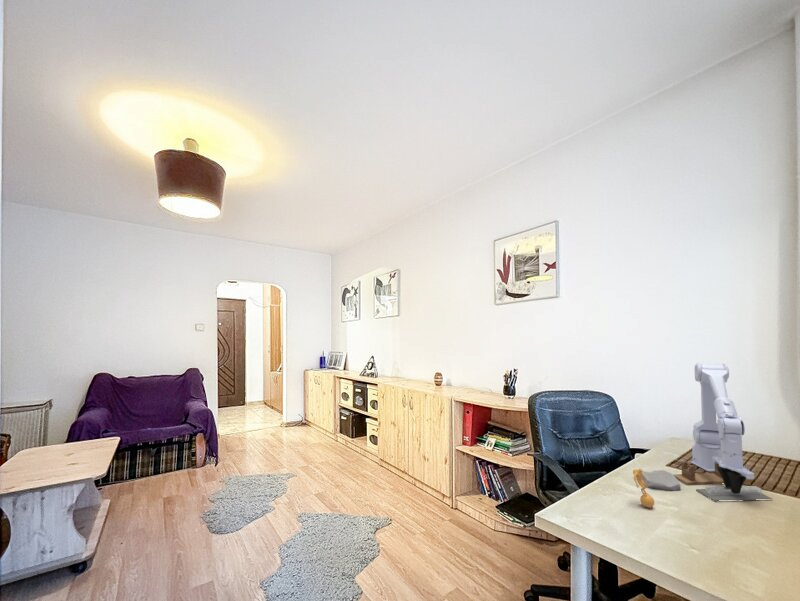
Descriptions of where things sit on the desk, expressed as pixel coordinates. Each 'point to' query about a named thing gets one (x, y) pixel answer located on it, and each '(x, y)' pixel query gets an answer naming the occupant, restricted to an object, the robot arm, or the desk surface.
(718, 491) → the rail
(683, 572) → the desk surface
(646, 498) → the figurine
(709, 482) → the wooden two-post cradle
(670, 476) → the stone block
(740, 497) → the mat
